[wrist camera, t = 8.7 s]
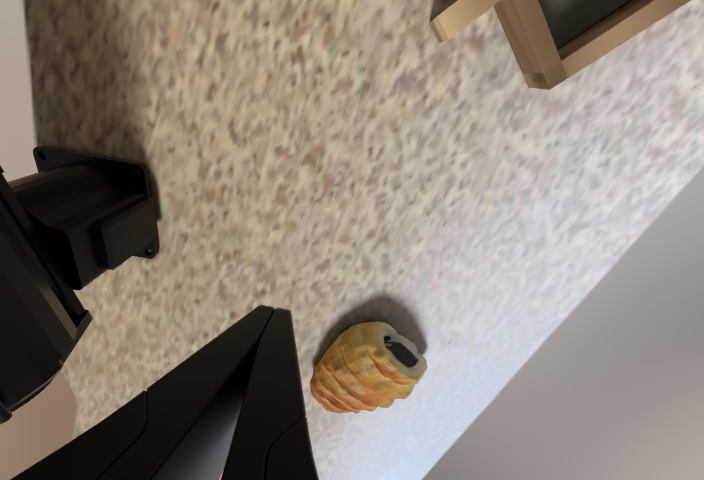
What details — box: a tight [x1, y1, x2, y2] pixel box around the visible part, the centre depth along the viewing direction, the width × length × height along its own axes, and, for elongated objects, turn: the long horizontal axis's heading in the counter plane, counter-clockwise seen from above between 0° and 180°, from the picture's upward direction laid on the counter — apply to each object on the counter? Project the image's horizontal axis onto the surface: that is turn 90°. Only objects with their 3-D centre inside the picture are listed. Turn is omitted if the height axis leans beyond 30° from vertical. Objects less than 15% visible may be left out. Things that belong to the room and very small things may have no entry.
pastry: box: [310, 322, 427, 413], centre depth 25 cm, size 9×7×4 cm
